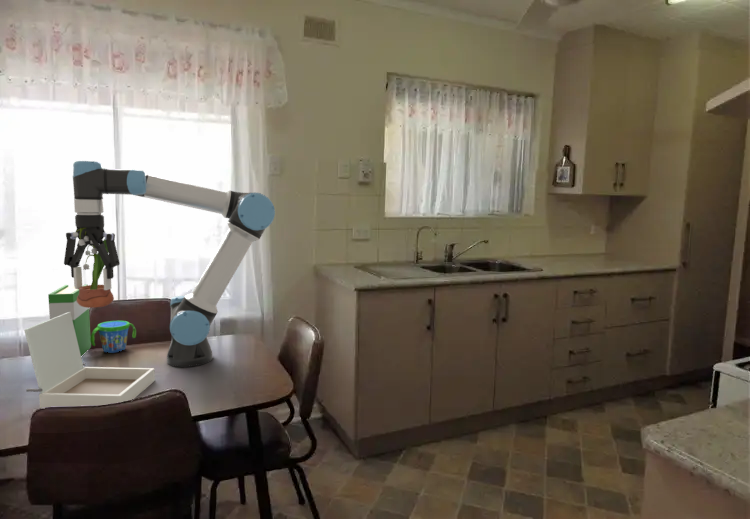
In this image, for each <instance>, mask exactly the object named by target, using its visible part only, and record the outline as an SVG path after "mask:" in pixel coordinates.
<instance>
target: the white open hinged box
mask: <svg viewBox="0 0 750 519" xmlns="http://www.w3.org/2000/svg"><path fill="white" fill-rule="evenodd" d="M23 331H24V334H25V339H26V342H27V345H28V350H29V354H30V355H29V356H30V359H31V362H32V366H33V370H34V374H35V378H36V382H37V385H38V388H26V389H25V391H26V392H29V393H31V392H37V393H38V392H39V394H38V399H39V409H43V408H42V407H51V406H81V405H104V404H110V403H117V402H123V401H127V400H131V399H133V400H134V399H136V397H138V396H140V395H141V393H143V392H144V390H146V389H147V388H148V387H149V386H150V385H152V384H153V383H154V382H156V381H155V380H156V376H155V375H156V373H155V370H156V369H155V368H154V367H152V368H151V367H110V366H106V367H105V366H103V367H101V366H86V362H83V360H82V357H81V354H80V350H79V346H78V342H77V338H76V333H75V329H74V325H73V321H72V317H71V312H67V313H65V314H62V315H60V316H57V317H55V318H52V319H50V318H49V319H48V320H45V321H43V322H40V323H37V324H35V325H32V326H30V327H28V328H25V329H23Z"/></svg>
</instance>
